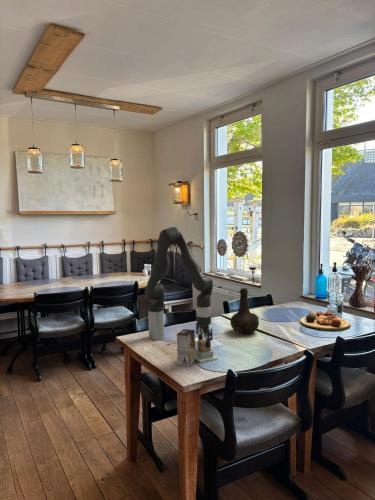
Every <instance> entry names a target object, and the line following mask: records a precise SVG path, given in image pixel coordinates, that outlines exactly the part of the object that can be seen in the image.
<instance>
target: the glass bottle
mask: <svg viewBox="0 0 375 500" xmlns="http://www.w3.org/2000/svg"><path fill="white" fill-rule="evenodd" d="M238 293H239V295H240V297H239V306H238V311H237V312H236V313H234V314H233V315H232V316H231V317H230V322H229V323H230V327H231V328H232V330H234V332H236V333H238V334H242V335H250V334H253V333H254V332H256V331H257V329H258V328H259V324H260V321H259V320H260V319H259V318H260V317H258V315H257V314H255V313H252V312H251V311H250V307H249V300H248V299H249V297H248V296H249V295H248V293H250V292H249V290H248V288H244V287H243V288H240V291H239V292H238Z"/></svg>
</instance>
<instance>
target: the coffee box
mask: <svg viewBox="0 0 375 500" xmlns="http://www.w3.org/2000/svg"><path fill="white" fill-rule="evenodd" d="M195 338H196V329H186V328H183V329H181V330H180V331H179V332H178V333H177V334H176V350H177V353H176V354H177V365H178V366H183V367H190V366H191V365H192V364H193V363H194V362H195V361H196V359H195Z"/></svg>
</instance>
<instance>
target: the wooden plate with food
mask: <svg viewBox="0 0 375 500" xmlns="http://www.w3.org/2000/svg"><path fill="white" fill-rule="evenodd" d="M299 323H300V324H301V325H302V326H304V327H306V326H307V327H306V328H309V327H311V328H310V329H313V328H315V329H314V330H319V329H320V330H319V331H332V330H333V331H343V330H347V329H349V328H350V327H351V323H350V322H349V321H348V320H346V319H343V318H339V317H338V316H337V317H336V315H334V314H333V312H332V311H328V310H327V311H326V312H322V311H317V312H316V313H315V311H313V310H311V311H309V313H307V315H306V316H303V317H302V318H300V320H299Z"/></svg>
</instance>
